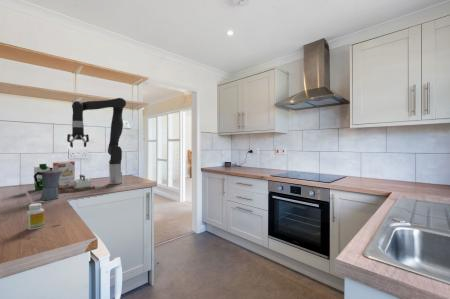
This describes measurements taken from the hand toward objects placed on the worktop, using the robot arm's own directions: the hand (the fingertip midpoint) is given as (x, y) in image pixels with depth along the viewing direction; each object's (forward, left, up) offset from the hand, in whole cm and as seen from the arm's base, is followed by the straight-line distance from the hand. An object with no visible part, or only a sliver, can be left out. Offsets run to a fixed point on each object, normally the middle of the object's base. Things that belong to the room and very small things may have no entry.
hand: (78, 147), depth 171 cm
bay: (+6, +15, -32) cm, 36 cm away
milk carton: (+22, -6, -32) cm, 40 cm away
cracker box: (+9, -4, -32) cm, 34 cm away
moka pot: (+22, +32, -32) cm, 50 cm away
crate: (+1, +15, -31) cm, 34 cm away
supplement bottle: (+33, +85, -32) cm, 97 cm away
